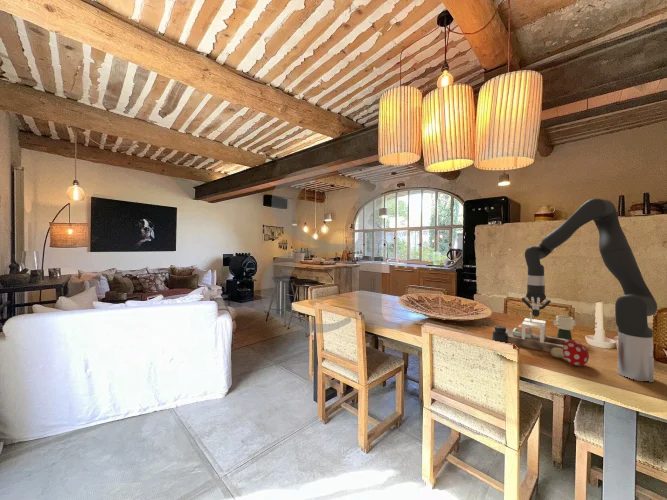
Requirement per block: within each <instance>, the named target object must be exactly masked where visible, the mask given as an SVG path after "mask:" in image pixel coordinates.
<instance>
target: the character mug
mask: <svg viewBox="0 0 667 500" xmlns="http://www.w3.org/2000/svg"><path fill="white" fill-rule="evenodd" d="M555 318H556V319H554V320H553V326H554V327H557V329H558V330H557V335H556V336H557V337H556V338H562V339H567V340H573V336H572V332H571V330H572V331H573V329H574V327H576V320H574V317H571V316H568V315H561V314H559V315H556V317H555Z"/></svg>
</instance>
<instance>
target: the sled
mask: <svg viewBox="0 0 667 500" xmlns="http://www.w3.org/2000/svg"><path fill="white" fill-rule="evenodd" d="M529 319H530V322H531V323H532V319H533V314H532V311H531V312H529ZM512 330H513V334H512V335H515V336H521V337H522V333H521V332H518V327H514V328H513V329H512ZM532 333H533V327H530V333H529V334H527V333H525V337H526V338H531V337H532Z"/></svg>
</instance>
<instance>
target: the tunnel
mask: <svg viewBox="0 0 667 500" xmlns="http://www.w3.org/2000/svg"><path fill="white" fill-rule="evenodd" d="M546 324H547V322H546V320H542V319H541V320H540V319H535V318H534V319H533V318H532V323H531V322H530V318H527V317H525V318H524V320H523V321H522V323H521V325H522V339H525V326H527V327H532V328H535V329H539V335H540V342H541V343H544V336H547V335H546V334H547V333H546V330H547V329H546V326H547V325H546Z"/></svg>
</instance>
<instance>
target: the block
mask: <svg viewBox="0 0 667 500" xmlns="http://www.w3.org/2000/svg"><path fill="white" fill-rule="evenodd" d="M517 328H518V332H521V333H522V324H518V326H517ZM525 333H527V334H529V333H530V327H527V326H525Z"/></svg>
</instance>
